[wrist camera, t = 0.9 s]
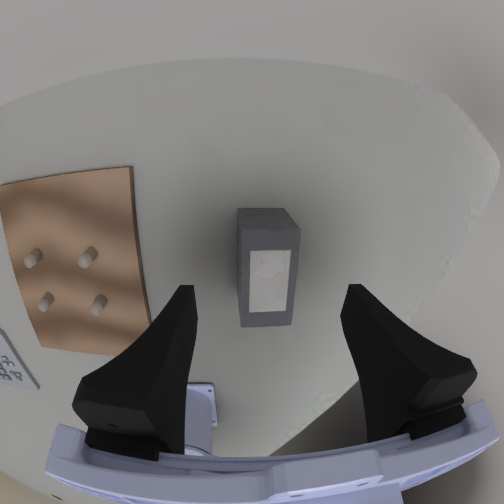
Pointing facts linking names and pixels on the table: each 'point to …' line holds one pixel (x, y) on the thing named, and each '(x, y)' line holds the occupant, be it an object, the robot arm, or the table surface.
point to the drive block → (266, 266)
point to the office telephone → (14, 366)
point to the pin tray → (78, 258)
